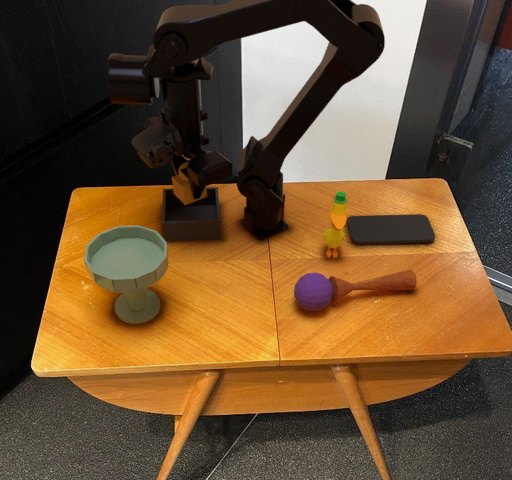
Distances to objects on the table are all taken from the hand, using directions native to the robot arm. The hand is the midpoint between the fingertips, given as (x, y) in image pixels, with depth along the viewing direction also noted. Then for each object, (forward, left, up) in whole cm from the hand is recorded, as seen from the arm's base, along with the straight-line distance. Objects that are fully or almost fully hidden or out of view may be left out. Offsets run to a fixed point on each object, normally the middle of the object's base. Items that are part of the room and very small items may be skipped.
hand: (190, 192), depth 95 cm
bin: (0, 0, -6) cm, 7 cm away
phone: (-28, +22, -7) cm, 37 cm away
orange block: (0, 0, -1) cm, 1 cm away
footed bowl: (+18, +13, -6) cm, 23 cm away
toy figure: (-15, +21, -7) cm, 27 cm away
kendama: (-12, +31, -7) cm, 34 cm away
